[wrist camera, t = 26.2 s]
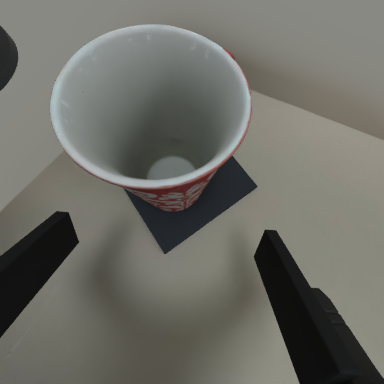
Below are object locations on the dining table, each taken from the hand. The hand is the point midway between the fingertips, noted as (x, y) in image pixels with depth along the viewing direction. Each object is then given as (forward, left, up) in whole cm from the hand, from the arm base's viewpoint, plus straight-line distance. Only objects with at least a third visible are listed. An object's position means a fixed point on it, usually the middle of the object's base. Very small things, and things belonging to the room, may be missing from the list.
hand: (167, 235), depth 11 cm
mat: (-6, +5, -8) cm, 11 cm away
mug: (-6, +5, -8) cm, 11 cm away
